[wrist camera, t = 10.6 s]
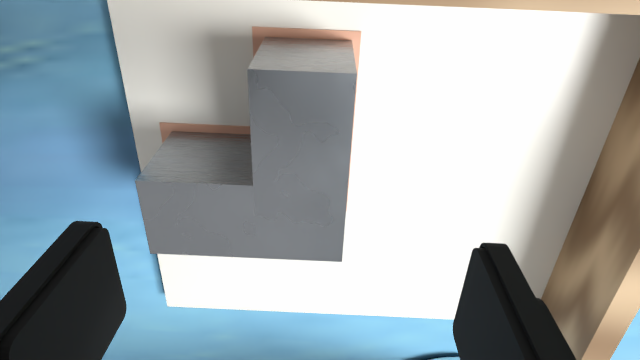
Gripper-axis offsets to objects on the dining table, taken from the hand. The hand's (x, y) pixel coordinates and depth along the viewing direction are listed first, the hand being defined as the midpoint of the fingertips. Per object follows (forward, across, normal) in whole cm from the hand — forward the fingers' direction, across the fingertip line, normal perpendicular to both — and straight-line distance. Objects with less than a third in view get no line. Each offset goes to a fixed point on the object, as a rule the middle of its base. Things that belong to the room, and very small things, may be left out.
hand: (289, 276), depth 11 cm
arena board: (+14, -4, +4) cm, 14 cm away
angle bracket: (+12, +3, +1) cm, 13 cm away
